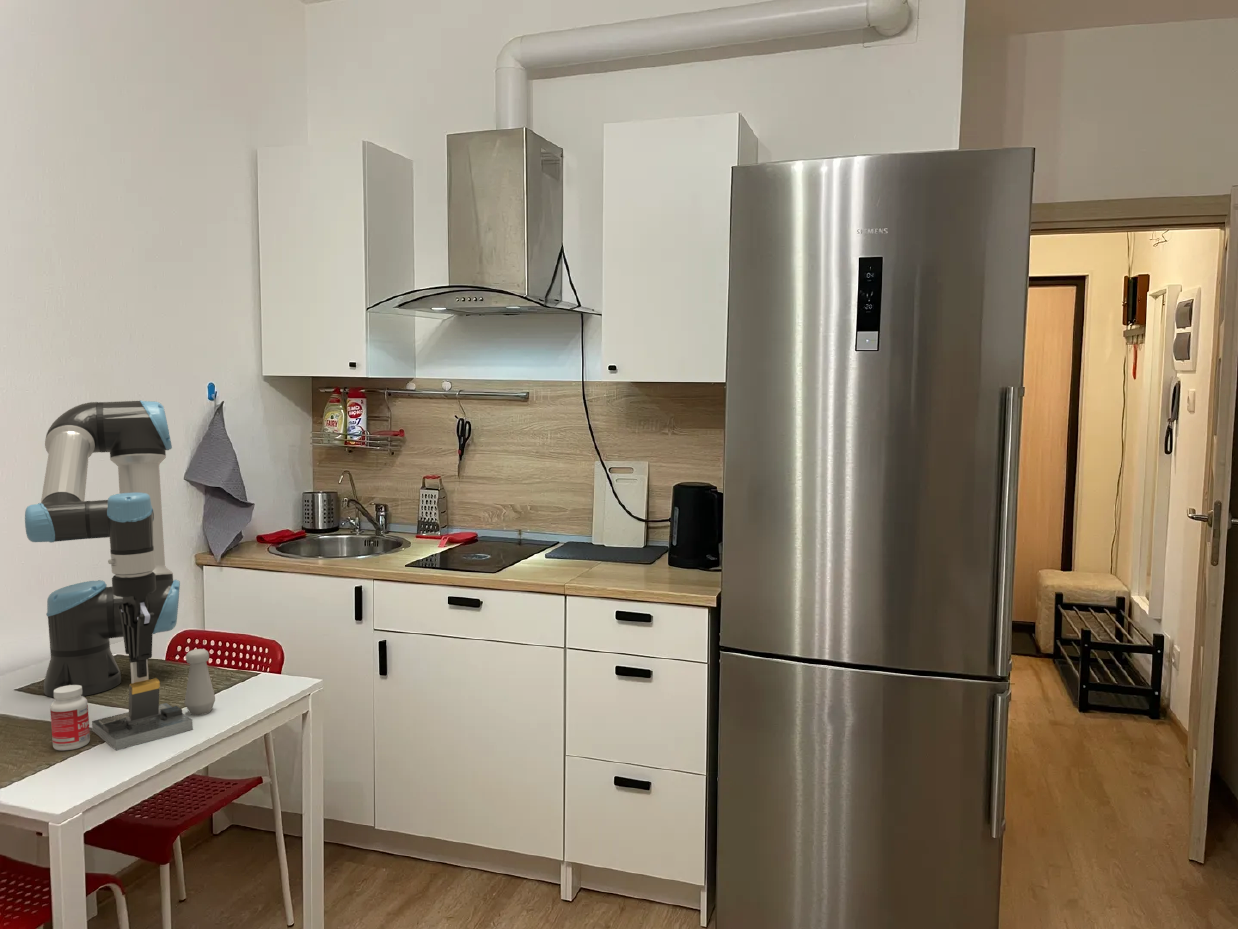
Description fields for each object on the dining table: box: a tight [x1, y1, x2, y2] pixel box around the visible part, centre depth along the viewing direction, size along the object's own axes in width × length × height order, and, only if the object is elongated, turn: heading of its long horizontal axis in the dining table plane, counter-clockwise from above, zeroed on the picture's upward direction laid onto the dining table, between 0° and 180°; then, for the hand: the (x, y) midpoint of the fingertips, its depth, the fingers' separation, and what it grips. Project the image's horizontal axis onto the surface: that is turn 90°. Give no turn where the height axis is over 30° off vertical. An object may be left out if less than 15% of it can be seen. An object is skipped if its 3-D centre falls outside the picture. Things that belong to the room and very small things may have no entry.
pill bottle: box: [49, 685, 91, 751], centre depth 179 cm, size 6×6×11 cm
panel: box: [91, 702, 194, 751], centre depth 186 cm, size 14×14×3 cm
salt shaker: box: [184, 648, 216, 716], centre depth 195 cm, size 6×6×13 cm
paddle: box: [126, 677, 161, 724], centre depth 184 cm, size 2×6×8 cm, turn 136°
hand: (140, 692), depth 185 cm, fingers closed
